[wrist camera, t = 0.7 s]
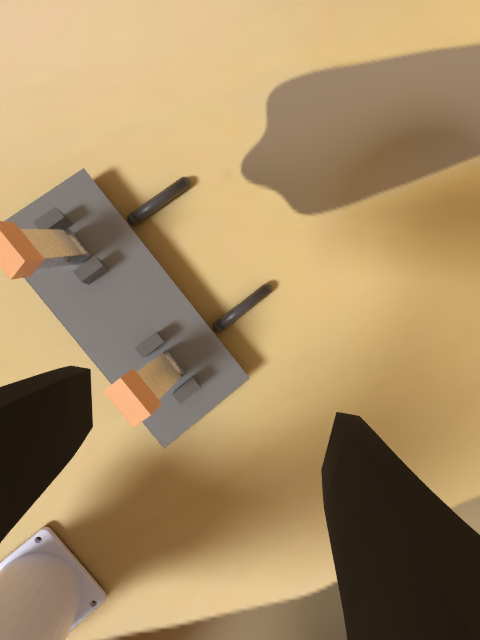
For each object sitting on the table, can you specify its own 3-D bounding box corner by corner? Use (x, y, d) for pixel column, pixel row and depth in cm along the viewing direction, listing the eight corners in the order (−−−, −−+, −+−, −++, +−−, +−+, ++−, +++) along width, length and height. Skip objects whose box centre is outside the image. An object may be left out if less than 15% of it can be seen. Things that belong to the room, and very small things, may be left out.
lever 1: (84, 268, 25) (10, 279, 19) (61, 239, 25) (-21, 240, 19) (97, 254, 25) (25, 261, 19) (73, 224, 24) (-8, 221, 19)
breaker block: (166, 439, 27) (161, 456, 24) (3, 240, 26) (-28, 225, 23) (302, 328, 29) (316, 328, 26) (154, 137, 28) (148, 109, 25)
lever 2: (177, 383, 26) (132, 427, 20) (154, 355, 26) (103, 391, 20) (192, 372, 25) (151, 415, 19) (168, 343, 25) (120, 377, 19)
